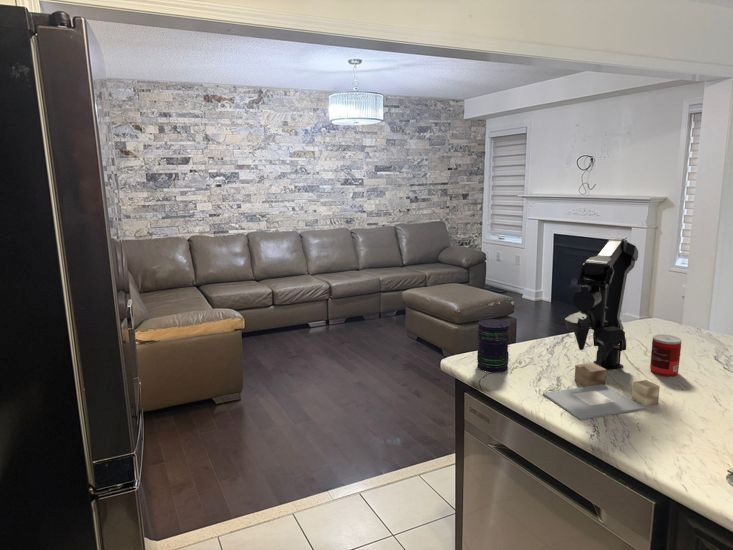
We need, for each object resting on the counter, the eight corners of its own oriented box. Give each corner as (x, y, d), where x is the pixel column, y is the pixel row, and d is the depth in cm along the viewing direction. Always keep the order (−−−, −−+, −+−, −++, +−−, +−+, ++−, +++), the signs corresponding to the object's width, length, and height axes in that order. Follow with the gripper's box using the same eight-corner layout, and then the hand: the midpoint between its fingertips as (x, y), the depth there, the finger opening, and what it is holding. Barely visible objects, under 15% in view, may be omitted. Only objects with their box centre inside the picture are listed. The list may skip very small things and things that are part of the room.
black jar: (470, 366, 165) (471, 322, 162) (490, 359, 171) (491, 317, 168) (495, 375, 157) (496, 329, 154) (514, 368, 163) (516, 323, 160)
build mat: (602, 385, 148) (602, 384, 148) (645, 409, 133) (645, 407, 133) (542, 394, 143) (542, 392, 143) (580, 419, 128) (580, 418, 128)
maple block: (644, 396, 140) (646, 379, 139) (658, 403, 136) (659, 386, 135) (631, 399, 139) (632, 382, 138) (644, 406, 135) (645, 388, 134)
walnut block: (591, 378, 154) (592, 362, 153) (605, 385, 148) (606, 369, 147) (574, 380, 152) (575, 364, 151) (587, 388, 147) (589, 372, 146)
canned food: (674, 368, 160) (678, 335, 157) (681, 378, 152) (684, 343, 150) (647, 366, 162) (650, 333, 160) (652, 375, 155) (655, 341, 153)
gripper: (550, 298, 152) (548, 347, 155) (593, 314, 135) (590, 369, 138) (582, 295, 155) (579, 344, 158) (628, 310, 138) (624, 364, 141)
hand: (591, 354), depth 149 cm, fingers open, 9 cm apart
